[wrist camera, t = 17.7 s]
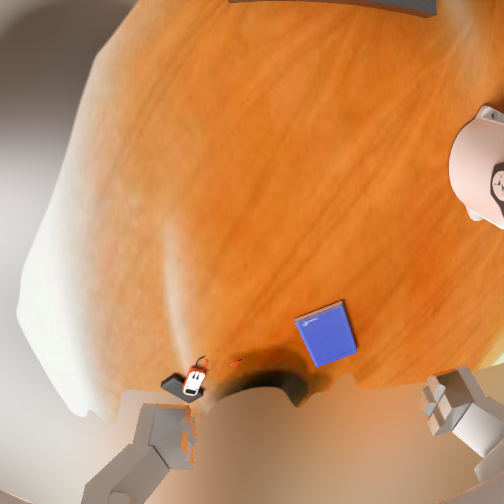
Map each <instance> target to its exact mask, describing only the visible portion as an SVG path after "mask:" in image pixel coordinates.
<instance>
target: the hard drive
mask: <svg viewBox="0 0 504 504" xmlns="http://www.w3.org/2000/svg"><path fill="white" fill-rule="evenodd" d="M294 321H295V324H296V326H297V328H298V330H299V332H300V334H301V336H302V338H303V340H304V343H305V345H306V347H307V349H308V351H309V353H310V355H311V357H312V359H313V361H314V364H315V366H316V367H319V366H322V365H325V364H328V363H330V362H333V361H336V360H338V359H341V358H344V357H346V356H349V355H352V354H354V353H356V352H357V348H356V344H355V341H354V338H353V335H352V331H351V328H350V325H349V322H348V319H347V316H346V313H345V309H344V306H343V303H342V301H340V302H337V303H335V304H332V305H330V306H327V307H324V308H322V309H319V310H317V311H314V312H311V313H309V314H306V315H304V316H301V317H298V318H295V319H294Z"/></svg>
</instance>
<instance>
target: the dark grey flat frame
mask: <svg viewBox="0 0 504 504" xmlns="http://www.w3.org/2000/svg"><path fill="white" fill-rule="evenodd" d="M253 1H311V2H327V3H339V4H349V5H358V6H365V7H372V8H379V9H385V10H391V11H396V12H401V13H406V14H411V15H415V16H420V17H424V18H427V17H431V16H435V15H437V11H436V3H435V0H229V3H236V2H253Z"/></svg>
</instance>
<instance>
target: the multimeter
mask: <svg viewBox="0 0 504 504" xmlns="http://www.w3.org/2000/svg"><path fill="white" fill-rule="evenodd" d="M204 357H205V356H204ZM202 358H203V357H202ZM202 358H200V359H202ZM200 359H199V360H200ZM204 359H205V358H204ZM205 360H206V359H205ZM243 360H244V359H243ZM241 361H242V360H238V361H237V362H235V363H233V364H232V365H234V364H236V363H238V362H239V363H240V362H241ZM197 362H198V361H197ZM197 362H196V366H197ZM206 362H207V360H206ZM232 365H230V366H232ZM206 367H207V365H206ZM206 367H205V368H206ZM205 368H204V369H205ZM204 369H203V370H204ZM203 370H201V369H198V368H190V369H189V372H188V374H187V377H186V379H185V380H184V379H183V378H181V377H180V376H178V375H176V374H173V375H172V376H170V377H169V378H167V379H166V380H165V381H163V382H162V383H161V388H163V389H164V390H166V391H168V392H170V393H172V394H174V395H175V396H177V397H179V398H181V399H182V400H184V401H186V402H187V403H191V402H193V401H194V400H196V399H198V398H200V397H201V396H203V392H204V391H203V390H202V389H200V388H199V387H200V385H201V383H202V381H203V379H204V377H205V376H206V374H205V372H204V371H203Z"/></svg>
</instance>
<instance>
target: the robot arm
mask: <svg viewBox="0 0 504 504" xmlns="http://www.w3.org/2000/svg"><path fill="white" fill-rule="evenodd" d="M491 115H492V117H491ZM449 176H450V182H451V185H452V188H453V190H454V192H455V194H456V196H457V197H458V198H459V200H460V201H461V202H462V203H463V204H464V205H465V206H466V208H467V212H468V215H469V217H470V218H471V219H472V220H474V221H479V220H482V219H486V220H488V221H489V222H491V223H493V224H494V225H496V226H498V227H499V228H502V229H504V114H502V113H501V112H499V111H497V110H495V109H493V108H491V107H489V106H486V105H484V106H482V107H481V108H480V110H479V112H478V113H477V115H476V117H475V119H474V120H472V121H471V122H470V123H468V124H467V125H466V126H465V127H464V128H463V129H462V130H461V131H460V133H459V134H458V136H457V138H456V139H455V142H454V144H453V147H452V150H451V154H450V160H449ZM427 384H428V385H427V386H426V387H425V388H424V389H423V390H422V392H421V395H420V404H421V408H422V411H423V413H424V414H426V415H427V416H429V419H428V422H427V423H428V425H429V428H430V430H431V432H432V435H433V436H436V435H440V434H443V433H446V432H449V431H452V430H453V431H452V432H453V433H454V434H455V435H457V436H458V437H459V438H460V439H461V440H462V441H464V442H465V443H466V444H467V445H468V446H470V447H471V448H472V449H473V450H474V451H476V452H477V453H478V454H479V455H480V456H482V457H483V459H482V460H481V461H480V462H479V463H478V465H476V467H475V469H474V470H475V472H476V475H477V477H478V480H479V483H480V484H478V485H476V486H474V487H472V488H470V489H468V490H465V491H463V492H461V493H459V494H456V495H454V496H452V497H449V498H447V499H445V500H442V501H440V502H437V503H434V504H504V405H502V404H501V403H499V402H497V401H496V400H494V399H492V398H491V397H489V396H488V397H485V395H484V393H483V391H482V390H481V388H480V386H479V385H478V383H477V381H476V380H475V378H474V376H473V374H472V373H471V371H470V369H469V368H468V367H467V366H461V367H457V368H454V369H450V370H446V371H443V372H440V373H436V374H433V375H431V376H429V378H428V380H427ZM196 440H197V428H196V422H195V419H194V417H192V416H191V409H190V407H189V405H172V404H151V403H144V404H143V405H142V407H141V409H140V414H139V418H138V423H137V427H136V431H135V436H134V441H133V444H128V445H127V446H126V447H125V448H124V449H123V450H122V451H121V452H120V453H119V454H118V455H117V456H116V457H115V458H114V459H112V461H110V462H109V463H108V464H107V465H106V466H105V467H104V468H103V469H102V470H101V471H100V472H99V473H98V474H97V475H96V476H95V477H93V478H92V479H91V480H90V481H89V482H88V483H87V484H86V486H85V489H84V494H83V498H82V502H81V504H144V503H145V501H146V500H147V498H149V496H150V495H151V494H152V493H153V491H154V490H155V489H156V488H157V486H158V485H159V484H160V483H161V481H162V480H163V479H164V477H165V476H166V475H167V473H168V472H169V469H177V470H194V464H195V452H194V450H193V448H192V446H193V445H194V444H195V443H196ZM0 504H35V503H32V502H29V501H27V500H25V499H22V498H20V497H17V496H15V495H13V494H11V493H9V492H7V491H4V490H2V489H0Z"/></svg>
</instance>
